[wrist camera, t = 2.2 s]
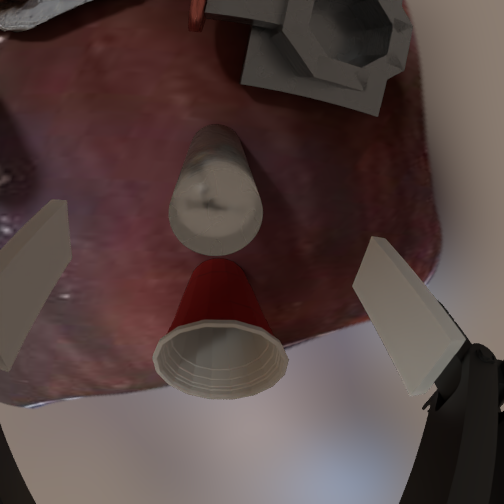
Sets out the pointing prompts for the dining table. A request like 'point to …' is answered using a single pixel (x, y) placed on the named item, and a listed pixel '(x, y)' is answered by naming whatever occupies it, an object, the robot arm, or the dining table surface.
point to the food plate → (32, 12)
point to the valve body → (318, 46)
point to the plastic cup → (220, 338)
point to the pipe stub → (215, 195)
